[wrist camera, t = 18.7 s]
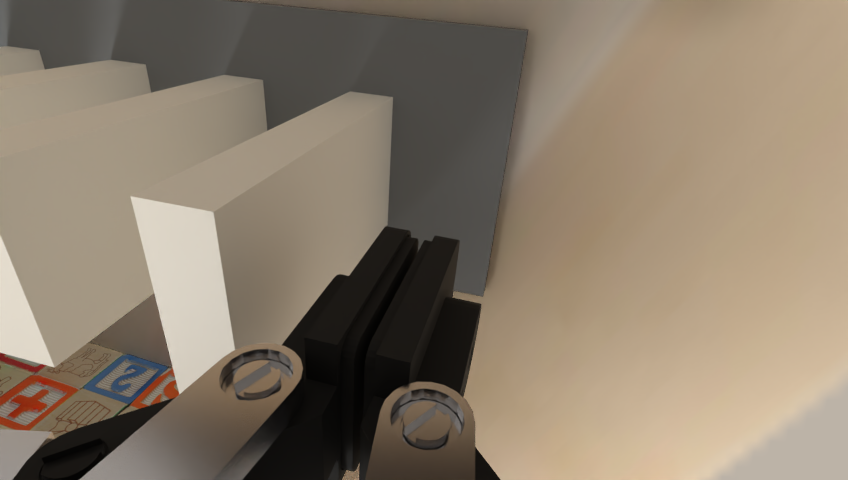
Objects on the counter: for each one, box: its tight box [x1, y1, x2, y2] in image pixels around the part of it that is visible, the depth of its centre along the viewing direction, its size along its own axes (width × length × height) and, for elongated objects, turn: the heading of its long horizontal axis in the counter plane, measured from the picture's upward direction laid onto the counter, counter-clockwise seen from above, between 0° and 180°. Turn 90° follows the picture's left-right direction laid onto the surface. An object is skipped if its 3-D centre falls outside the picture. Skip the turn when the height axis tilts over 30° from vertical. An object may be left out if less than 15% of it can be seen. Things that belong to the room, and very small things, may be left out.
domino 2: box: [0, 75, 267, 367], centre depth 14 cm, size 5×2×10 cm, turn 176°
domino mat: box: [0, 0, 528, 296], centre depth 20 cm, size 10×30×1 cm, turn 86°
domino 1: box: [0, 60, 151, 130], centre depth 15 cm, size 5×2×10 cm, turn 176°
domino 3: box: [130, 91, 393, 394], centre depth 13 cm, size 5×2×10 cm, turn 176°
